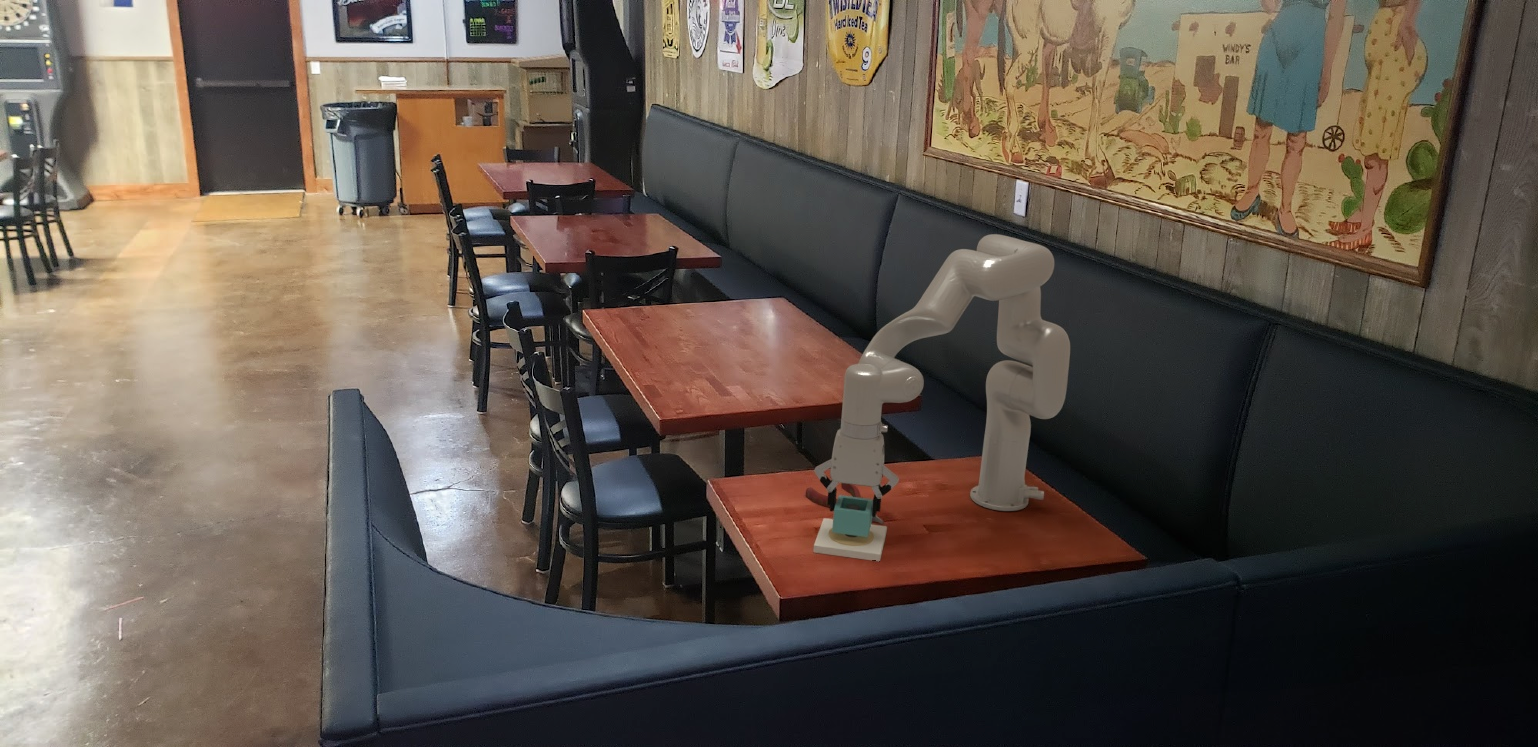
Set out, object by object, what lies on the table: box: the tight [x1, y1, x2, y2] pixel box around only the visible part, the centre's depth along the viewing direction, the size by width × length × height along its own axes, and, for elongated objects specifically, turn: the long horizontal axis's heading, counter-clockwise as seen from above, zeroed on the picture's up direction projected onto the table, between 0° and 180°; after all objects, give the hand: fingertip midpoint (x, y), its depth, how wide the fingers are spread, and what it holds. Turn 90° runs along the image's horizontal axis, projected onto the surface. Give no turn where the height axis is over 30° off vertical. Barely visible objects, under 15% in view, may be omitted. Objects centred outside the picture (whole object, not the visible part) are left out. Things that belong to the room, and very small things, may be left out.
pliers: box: [805, 483, 885, 525], centre depth 241 cm, size 12×20×3 cm, turn 30°
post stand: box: [812, 504, 888, 562], centre depth 225 cm, size 13×13×8 cm
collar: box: [832, 494, 873, 537], centre depth 224 cm, size 7×7×5 cm
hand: (853, 510), depth 224 cm, fingers open, 7 cm apart
